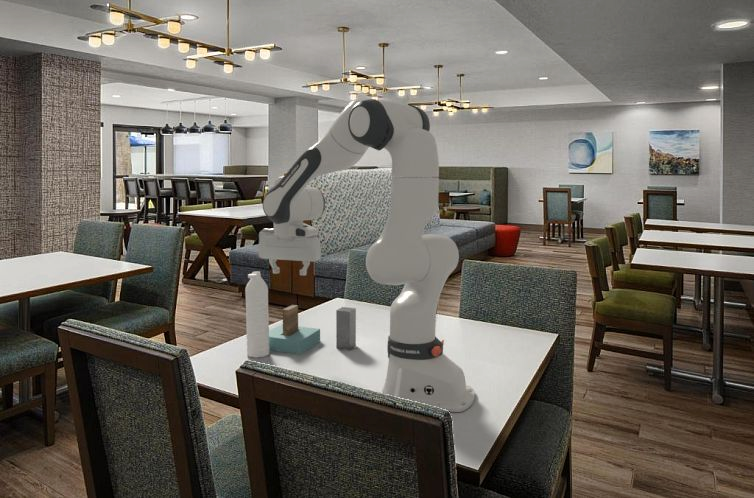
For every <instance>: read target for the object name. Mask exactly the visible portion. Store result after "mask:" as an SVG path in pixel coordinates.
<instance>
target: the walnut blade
mask: <svg viewBox="0 0 754 498" xmlns="http://www.w3.org/2000/svg"><path fill="white" fill-rule="evenodd" d="M281 311H282V324H283V335H284V336H290V335H292V334H294V333H296V332H297V331H298V326H299V305H297V304H291V305H289V306H287V307H284V308H283V309H282V310H281Z"/></svg>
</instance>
